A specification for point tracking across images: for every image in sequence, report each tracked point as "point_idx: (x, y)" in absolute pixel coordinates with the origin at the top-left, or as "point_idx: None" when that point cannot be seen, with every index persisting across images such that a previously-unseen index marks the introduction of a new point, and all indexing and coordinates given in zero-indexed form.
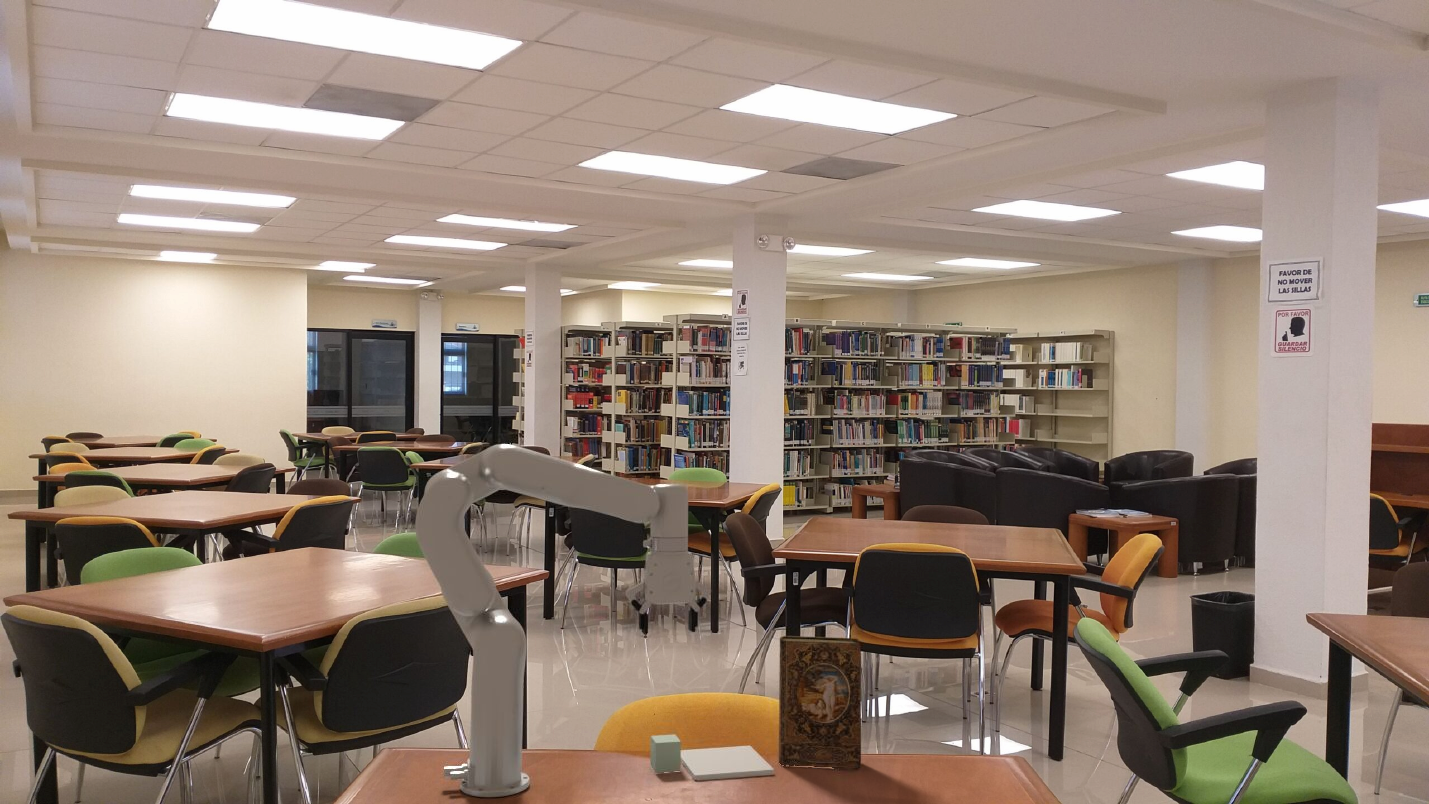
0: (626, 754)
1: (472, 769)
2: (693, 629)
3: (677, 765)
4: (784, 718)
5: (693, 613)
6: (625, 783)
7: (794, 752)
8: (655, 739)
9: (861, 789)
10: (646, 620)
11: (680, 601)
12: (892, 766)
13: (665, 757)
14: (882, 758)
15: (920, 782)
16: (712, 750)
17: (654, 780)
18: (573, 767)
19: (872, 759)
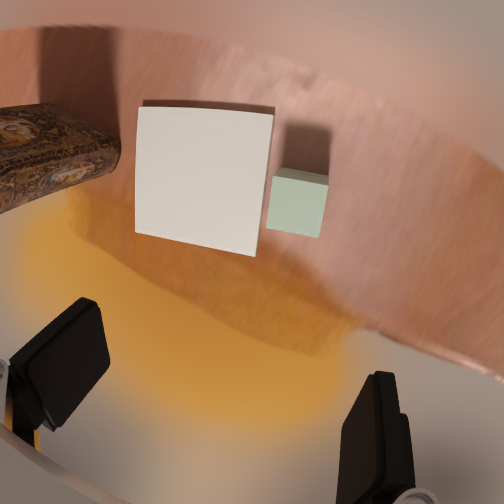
0: (332, 292)
1: None
2: (83, 304)
3: (286, 169)
4: (67, 147)
5: (22, 361)
6: (394, 152)
7: (93, 133)
8: (319, 210)
9: (76, 35)
10: (391, 439)
11: (20, 461)
12: None
13: (308, 176)
14: None
15: (26, 57)
16: (195, 232)
17: (342, 144)
18: (435, 266)
19: None
